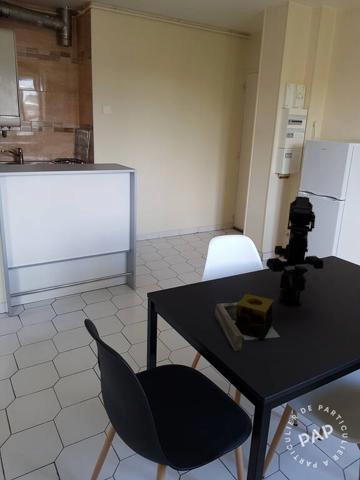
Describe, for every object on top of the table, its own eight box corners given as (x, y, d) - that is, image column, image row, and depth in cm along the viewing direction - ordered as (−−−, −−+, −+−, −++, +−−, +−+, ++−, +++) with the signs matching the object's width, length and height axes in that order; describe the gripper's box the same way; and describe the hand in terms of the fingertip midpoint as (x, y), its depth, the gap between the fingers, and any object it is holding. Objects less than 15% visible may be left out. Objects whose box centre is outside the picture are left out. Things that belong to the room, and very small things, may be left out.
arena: (268, 312, 135) (269, 300, 134) (296, 345, 115) (298, 330, 114) (215, 316, 131) (215, 303, 130) (234, 350, 112) (236, 336, 110)
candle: (263, 341, 117) (266, 312, 114) (233, 332, 121) (235, 304, 118) (272, 326, 125) (275, 299, 122) (243, 318, 130) (246, 292, 127)
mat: (264, 318, 131) (264, 318, 131) (279, 337, 119) (280, 336, 119) (232, 321, 128) (232, 320, 128) (244, 340, 117) (244, 339, 117)
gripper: (309, 235, 134) (304, 275, 139) (261, 237, 130) (257, 278, 135) (327, 245, 124) (321, 288, 128) (276, 248, 120) (271, 292, 125)
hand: (292, 286), depth 129 cm, fingers closed
